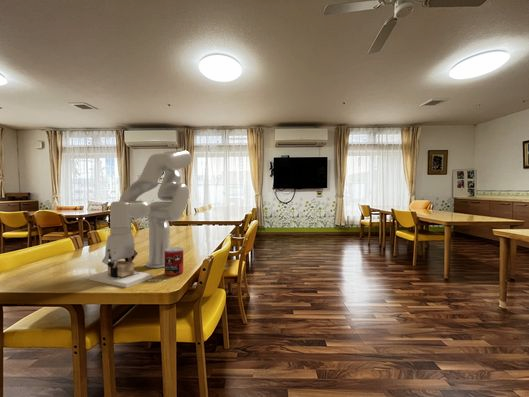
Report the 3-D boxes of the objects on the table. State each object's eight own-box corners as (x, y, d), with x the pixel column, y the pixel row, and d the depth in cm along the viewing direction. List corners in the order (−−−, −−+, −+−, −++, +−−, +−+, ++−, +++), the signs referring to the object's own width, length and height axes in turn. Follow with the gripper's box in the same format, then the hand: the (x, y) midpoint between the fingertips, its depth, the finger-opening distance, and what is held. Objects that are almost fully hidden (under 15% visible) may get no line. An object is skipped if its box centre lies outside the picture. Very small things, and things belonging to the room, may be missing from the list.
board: (116, 271, 110) (116, 268, 110) (152, 277, 102) (152, 274, 102) (88, 279, 99) (88, 275, 99) (126, 287, 91) (126, 283, 91)
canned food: (160, 276, 104) (160, 250, 104) (170, 270, 112) (170, 246, 112) (177, 277, 103) (177, 251, 103) (186, 271, 111) (186, 247, 111)
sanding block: (119, 271, 105) (119, 260, 105) (133, 274, 101) (133, 262, 101) (107, 275, 100) (107, 263, 100) (122, 278, 96) (122, 265, 96)
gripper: (133, 228, 110) (133, 268, 110) (93, 233, 94) (93, 280, 94) (145, 229, 107) (144, 270, 107) (106, 234, 91) (106, 283, 91)
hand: (120, 274), depth 100 cm, fingers closed on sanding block, 5 cm apart
